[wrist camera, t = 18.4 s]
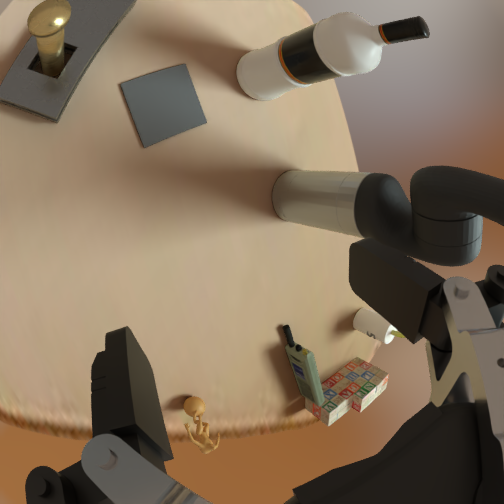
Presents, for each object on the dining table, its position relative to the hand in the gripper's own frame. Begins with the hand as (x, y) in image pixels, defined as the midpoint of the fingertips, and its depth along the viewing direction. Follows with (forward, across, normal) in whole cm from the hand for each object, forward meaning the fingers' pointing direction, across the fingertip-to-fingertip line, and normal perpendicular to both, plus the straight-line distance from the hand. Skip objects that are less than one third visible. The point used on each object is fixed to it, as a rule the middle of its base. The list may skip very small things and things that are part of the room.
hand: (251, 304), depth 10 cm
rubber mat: (+36, -2, -8) cm, 36 cm away
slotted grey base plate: (+34, +9, -22) cm, 42 cm away
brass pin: (+34, +12, -18) cm, 40 cm away
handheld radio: (+31, -15, +48) cm, 59 cm away
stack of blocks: (+31, -26, +66) cm, 77 cm away
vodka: (+40, -19, -10) cm, 45 cm away
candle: (+36, -37, +50) cm, 72 cm away
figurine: (+26, +10, +40) cm, 49 cm away
